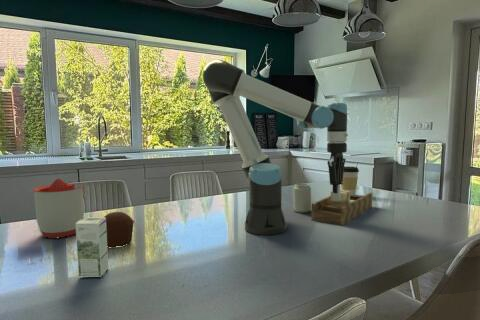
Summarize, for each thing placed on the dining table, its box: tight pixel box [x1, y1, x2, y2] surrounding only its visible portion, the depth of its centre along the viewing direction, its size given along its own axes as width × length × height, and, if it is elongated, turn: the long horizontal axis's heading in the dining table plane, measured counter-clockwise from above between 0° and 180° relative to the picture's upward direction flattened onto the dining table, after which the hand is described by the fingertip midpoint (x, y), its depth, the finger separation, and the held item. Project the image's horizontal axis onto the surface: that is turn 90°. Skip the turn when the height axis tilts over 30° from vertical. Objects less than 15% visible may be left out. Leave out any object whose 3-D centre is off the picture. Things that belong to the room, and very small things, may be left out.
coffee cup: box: [340, 166, 360, 196], centre depth 181 cm, size 10×10×15 cm
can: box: [293, 182, 312, 214], centre depth 150 cm, size 8×8×12 cm
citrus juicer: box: [32, 178, 88, 239], centre depth 122 cm, size 16×17×20 cm
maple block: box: [330, 189, 350, 208], centre depth 142 cm, size 6×6×6 cm
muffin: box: [103, 211, 135, 247], centre depth 111 cm, size 12×11×10 cm
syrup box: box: [75, 216, 110, 277], centre depth 88 cm, size 6×6×14 cm
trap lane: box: [311, 190, 373, 226], centre depth 146 cm, size 36×13×6 cm, turn 143°
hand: (336, 200), depth 138 cm, fingers closed
